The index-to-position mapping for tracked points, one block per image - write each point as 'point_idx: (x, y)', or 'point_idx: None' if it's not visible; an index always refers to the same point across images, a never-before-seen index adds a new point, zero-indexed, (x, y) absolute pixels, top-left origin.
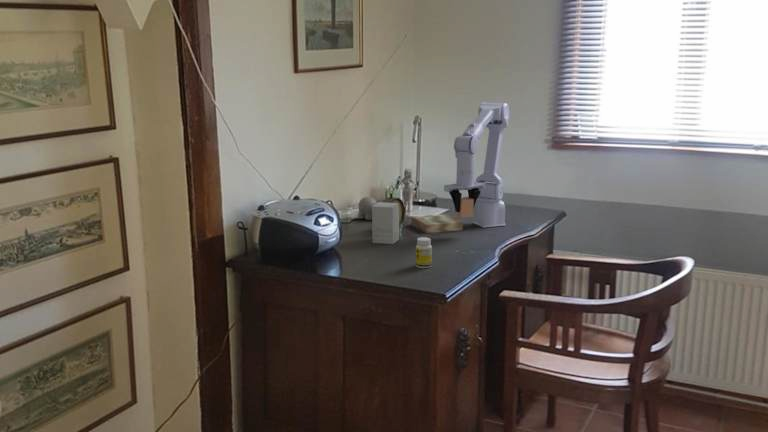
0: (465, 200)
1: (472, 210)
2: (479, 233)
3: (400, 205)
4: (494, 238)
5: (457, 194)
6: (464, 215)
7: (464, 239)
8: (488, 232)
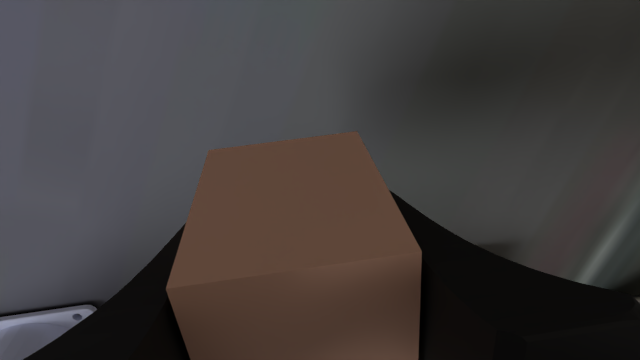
0: (338, 257)
1: (211, 182)
2: (147, 190)
3: None
4: (53, 22)
5: (607, 308)
6: (320, 144)
7: (304, 54)
8: (75, 203)
